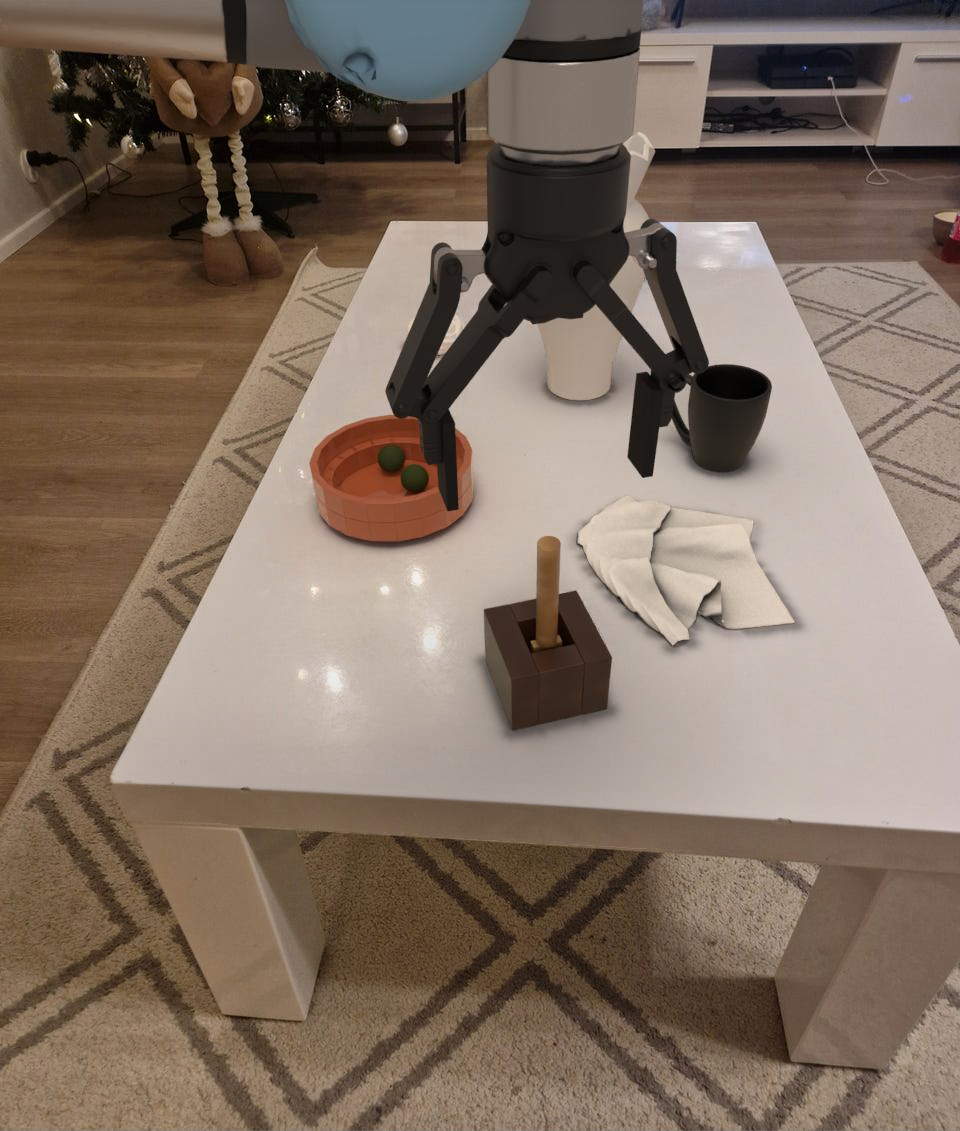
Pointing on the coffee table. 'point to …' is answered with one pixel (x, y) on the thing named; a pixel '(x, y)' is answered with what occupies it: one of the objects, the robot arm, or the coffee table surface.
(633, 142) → the vase
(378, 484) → the bowl
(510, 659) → the holder
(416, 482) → the olive
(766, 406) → the mug
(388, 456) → the ball
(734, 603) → the cloth
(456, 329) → the rose
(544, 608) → the stick
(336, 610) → the coffee table surface
